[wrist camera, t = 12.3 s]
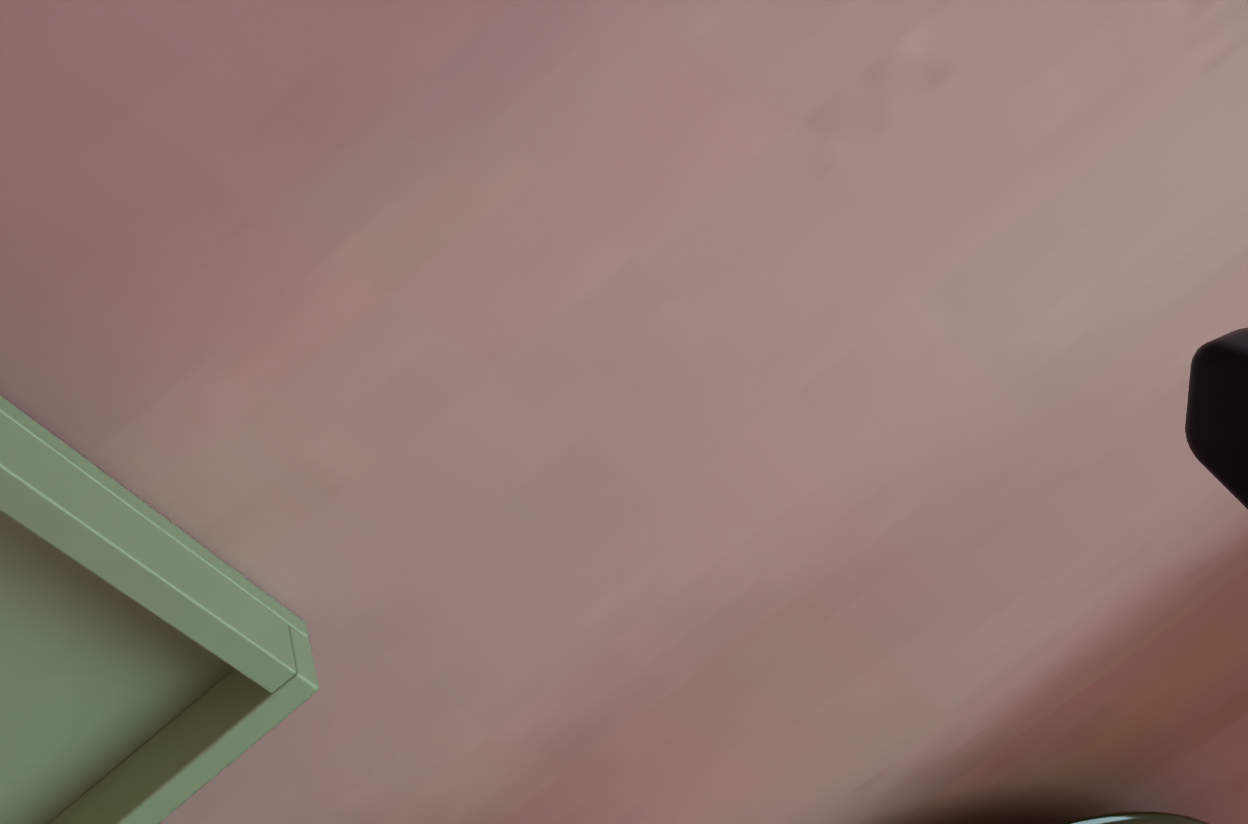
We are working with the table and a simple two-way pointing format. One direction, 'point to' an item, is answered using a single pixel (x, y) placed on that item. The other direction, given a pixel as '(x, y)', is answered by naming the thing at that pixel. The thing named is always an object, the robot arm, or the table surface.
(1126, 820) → the plate
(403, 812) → the table surface
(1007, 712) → the table surface
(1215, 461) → the robot arm
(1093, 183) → the table surface
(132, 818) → the tray
